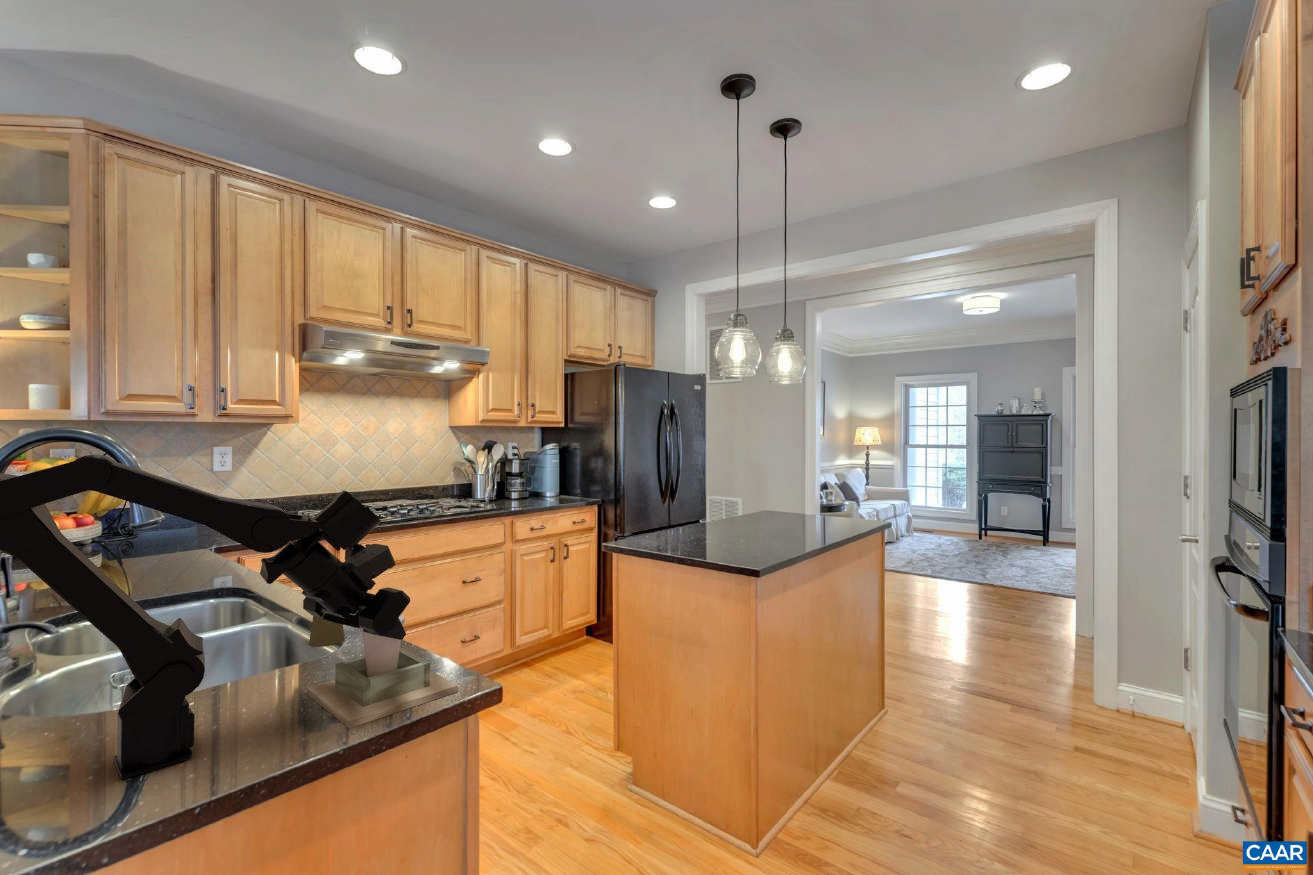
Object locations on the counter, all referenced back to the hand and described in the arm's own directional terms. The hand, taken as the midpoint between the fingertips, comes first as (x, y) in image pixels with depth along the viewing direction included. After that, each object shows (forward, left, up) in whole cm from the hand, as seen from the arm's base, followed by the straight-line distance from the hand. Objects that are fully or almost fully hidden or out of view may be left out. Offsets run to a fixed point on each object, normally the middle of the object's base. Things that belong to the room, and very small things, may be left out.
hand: (390, 633), depth 93 cm
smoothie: (-1, 0, -7) cm, 8 cm away
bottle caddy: (-1, 0, -9) cm, 9 cm away
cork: (+2, +31, -9) cm, 32 cm away
